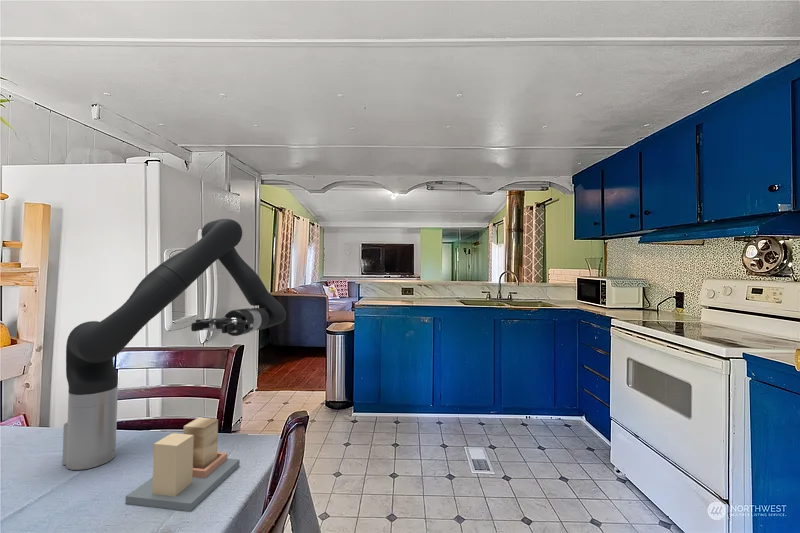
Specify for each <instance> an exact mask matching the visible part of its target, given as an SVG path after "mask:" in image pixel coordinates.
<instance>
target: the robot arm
mask: <svg viewBox="0 0 800 533" xmlns="http://www.w3.org/2000/svg"><path fill="white" fill-rule="evenodd" d="M200 234H201V238H200V239H199V240H198V241H197V242H195V243H194V244H192V245H191V246H189V247H187V248H186V249H184V250H182V251H180V252H177V253H176V254H174V255H173V256H171V257H169V258H167V259H166V260H165V261H163V262H162V263H160V264H159V265H157V266H156V267H155V268H154V269H153V270H151V271H150V272H149V273H148V274H147V275H146V276H144V278H143V279H142V280H141V281H140V282H139V283H138V285H137V286H136V287H135V288H134V290H133V291H132V293H131V295H130V296H129V297H128V299H127V300H126V301H125V302H124V303H123V304H122V305H121V306H120V307H118V308H117V309H116V310H114V311H113V312H112V313H110V314H109V315H108V316H107V317H105V318H104V319H102V320H100V321H97V320H92V321H91V320H90V321H85V322H82V323H80V324H78V325H77V326H75V327H73V329H72V330H71V331H70V333H69V334H68V336H67V339H66V346H65V347H66V348H65V375H66V377H65V378H66V380H67V385H68V397H67V400H68V401H67V403H68V405H67V422H65V423H64V424H63V432H62V436H63V438H62V462H61V464H62V466H65V468H66V469H69V470H72V471H73V470H74V471H79V470H80V471H81V470H87V469H93V468H95V467H99V466H101V465H103V464H106V463H108V462H110V461H112V460H113V459H114V458H115V457H116V450H117V424H118V423H117V422H118V421H117V420H118V419H117V418H118V417H117V416H118V393H119V391H118V389H119V388H118V386H119V376H118V373H117V371H116V369H115V364H114V358H115V357H116V356H118V354H120V352H122V351H123V349H125V347H126V346H128V344H129V342H131V341H132V339H134V337H135V336H136V335H137V334H138V333H139V332H140V331H141V330H142V329H143V327H145V326H146V325H147V324H148V323H149V322H150V321H151V320H152V319H154V318H155V317H156V316H157V315H159V313H161V312H162V311H163V310H164V309H165V308H166V307H167V306H169V304H171V303H172V302H173V301H175V299H177V298H178V297H179V296H180V295H181V294H183V293H184V292H185V290H187V289H188V288H189V287H190V286H191V285H192V284H193V283H194V282H195V281H196V280H197V279H198V278H199V277H200V276H201V275H203V273H205V271H207V270H208V268H209V267H210V266H212V264H214V263H215V262H216V261H217V260H219V262H220V263H221V265H222V266H223V267H224V268H225V270H226V271H228V273H229V274H230V276H231V277H232V278H233V280H234V282H235V283H236V284H237V286H238V288H239V290H240V291H241V293H242V295H243V296H244V297H245V299H246V301H247V302H248V304H249V305H250V306H253V307H251V308H250V307H249V308H248V307H247V308H241V309H239V308H238V309H233V310H229V311H228V312H227V313H226V314H225V315H224V316H220V317H213V318H212V317H209V318H207V317H206V318H201V319H196V320H195V322H192V323H191V326H190V327H191V332H199V331H205V330H206V331H207V330H208V331H210V332H219V331H220V332H221V333H222V334H228V335H229V336H233V337H238V336H242V335H246V334H250V333H253V332H254V331H258V330H259V331H260V330H265V329H268V328H271V327H274V326H276V325H280V324H282V323H283V322H285V320H286V318H287V311H286V310H285V308H284V306H283V305H282V303H281V302H279V301H278V300H277V299H276V298H275V297H274V296H273V295H272V294H271V293H270V292H269V291H268V290H267V288H266V286H265V284H264V282H263V280H262V279H261V278H260V276H259V275H258V273H257V272H256V271H255V270H254V269H253V268H252V267H251V266H250V265H249V264H248V263H246V261H245V260H244V258H242V257H241V256H240V254H239V253H238V251H237V249H236V248H235V247H237V245H239V243H240V242H241V241H242V238H243V228H242V225H241V224H240V222H239V223H238V221H236V220H234V219H231V218H220V219H216V220H213V221H212V220H211V221H210V222H207V223H206V224H205V225H204V226H203V227H202V229H201V233H200ZM255 306H256V307H255ZM257 306H260V307H257ZM261 306H262V308H261ZM214 326H215V328H214Z"/></svg>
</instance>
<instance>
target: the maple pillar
mask: <svg viewBox="0 0 800 533" xmlns="http://www.w3.org/2000/svg"><path fill="white" fill-rule="evenodd" d="M218 433H219V419H217V418H208V417H197V418H195V419H193V420H191V421H190V422H188V423H187V424H185V425H183V433H182V434H188V435H194V442H193V468H199V469H205V468H206V467H207V466H209V465H210V464H211V463H212V462H213V461H215V460H216V459H217V452H218V437H219V436H218V435H219V434H218Z"/></svg>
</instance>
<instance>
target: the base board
mask: <svg viewBox="0 0 800 533" xmlns="http://www.w3.org/2000/svg"><path fill="white" fill-rule="evenodd" d="M193 442H194V435H188V434H183V433H175V432H174V433H173V432H172V433H170V434H168V435H167V436H165V437H163V438H161V439H160V440H158V441H156V442H155V443H153V457H152V458H153V461H152V477H151V478H150V479H148V480H147V481H146V482H144V483H142V484H141V485H140V486H138V487H137V488H135V489H134V490H132V491H130V493H128V494H126V496H125V505H132V506H141V507H150V508H159V509H166V510H167V509H168V510H174V511H175V510H176V511H185V512H192V511H193V510H194V509H195V508H196V507H197V506H198V505H200V504H201V502H202V501H203V500H205V499H206V498H207V497H208V496H209V495H210V494H211V493H212V492H213V491H214V490H215V489H217V488H218V487H219V486H220V485H221V484H222V483H223V482H224V481H226V479H227V478H228V477H229V476H230V475H232V473H234V472H235V471H236V470H237V469H238V468H239V467H240V464H241V463H240V459H236V458H228V452H221V451H220V452H219V451H217V459H216V460H215V461H213V462H212V463H211V464H210V465H209V466H207V467H206V468H205V469H199V468H193Z"/></svg>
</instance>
